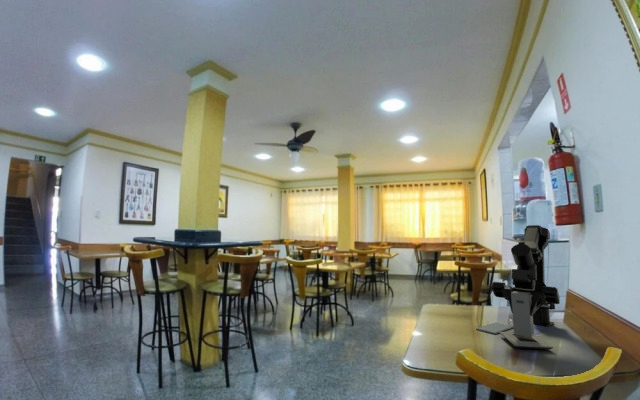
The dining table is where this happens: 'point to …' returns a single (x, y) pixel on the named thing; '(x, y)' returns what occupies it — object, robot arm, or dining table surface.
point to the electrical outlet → (526, 341)
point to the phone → (495, 328)
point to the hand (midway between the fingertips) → (521, 313)
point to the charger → (522, 313)
